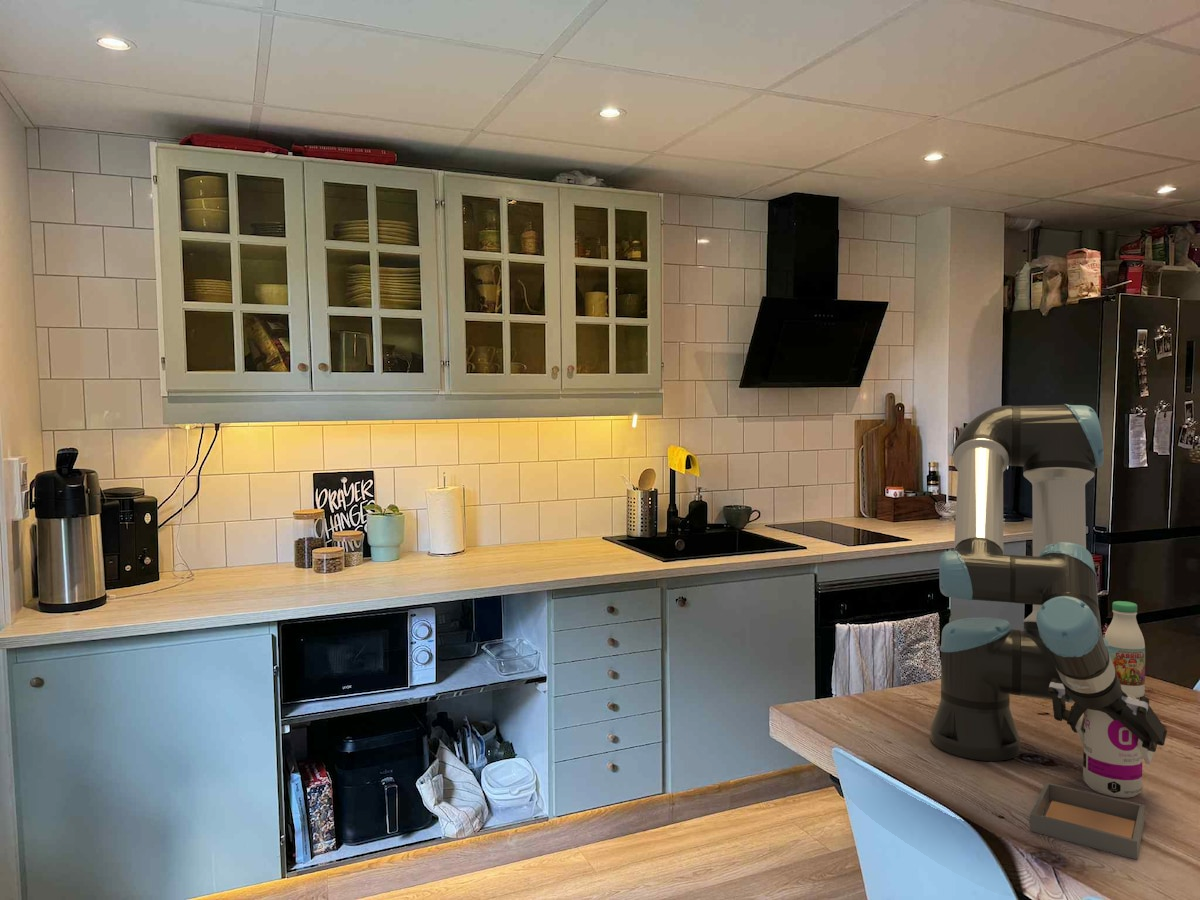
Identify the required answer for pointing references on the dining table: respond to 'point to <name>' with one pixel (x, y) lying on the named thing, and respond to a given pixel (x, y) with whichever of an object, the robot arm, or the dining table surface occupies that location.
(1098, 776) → the supplement can
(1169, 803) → the dining table surface
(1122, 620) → the milk bottle
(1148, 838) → the dining table surface
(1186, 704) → the dining table surface
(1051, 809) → the tray
